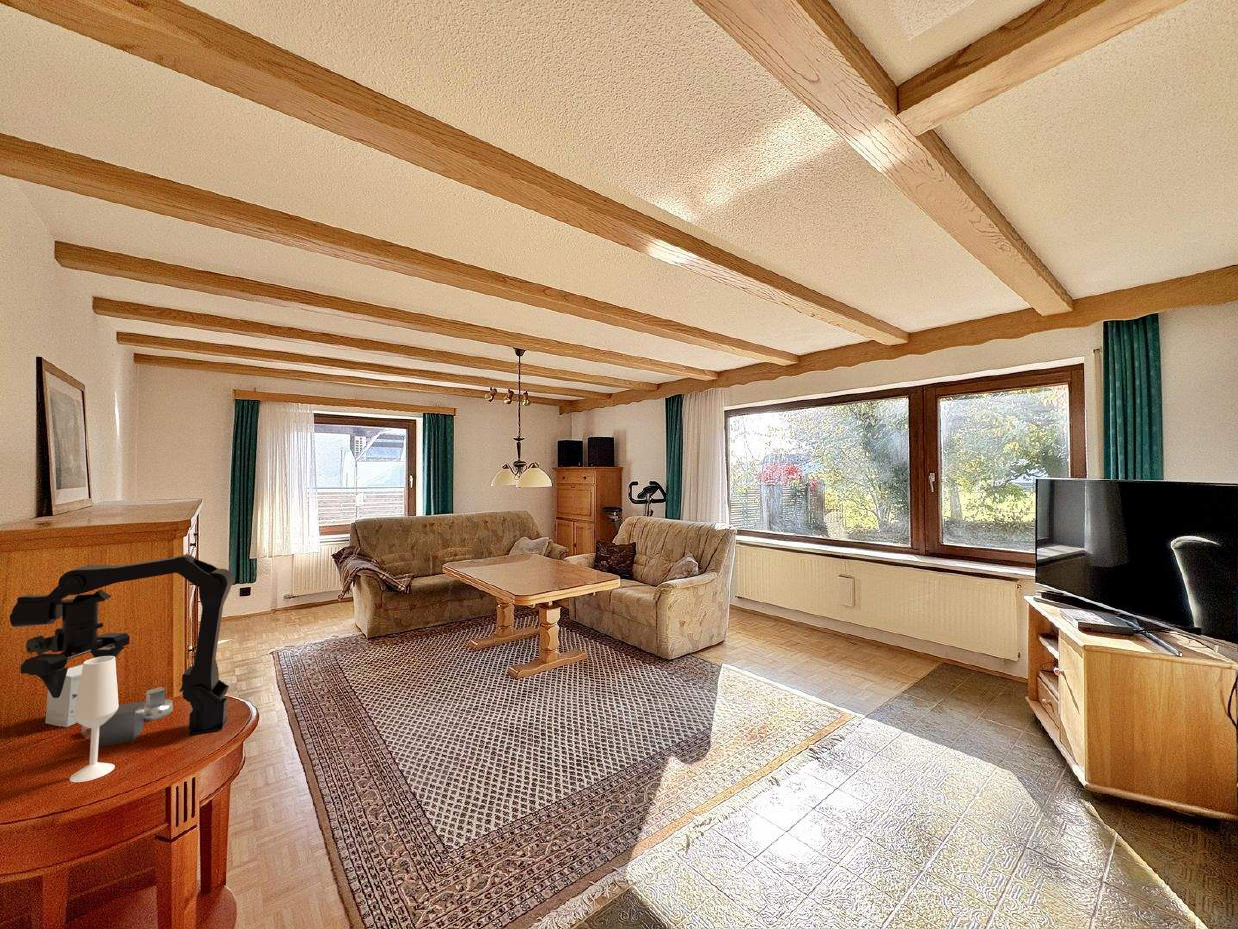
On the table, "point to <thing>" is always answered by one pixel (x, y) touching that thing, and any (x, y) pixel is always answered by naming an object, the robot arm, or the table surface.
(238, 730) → the table surface
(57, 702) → the supplement box
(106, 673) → the champagne flute
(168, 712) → the ratchet
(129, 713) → the dark grey box
